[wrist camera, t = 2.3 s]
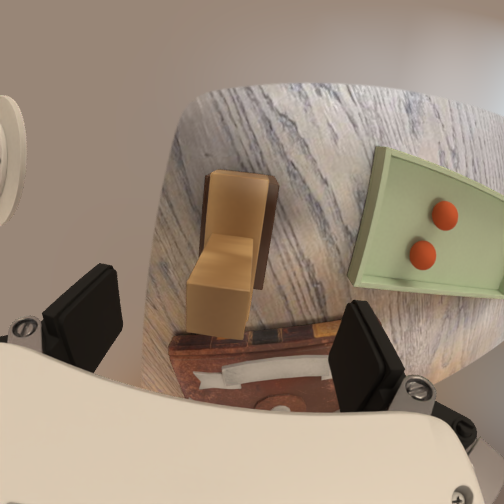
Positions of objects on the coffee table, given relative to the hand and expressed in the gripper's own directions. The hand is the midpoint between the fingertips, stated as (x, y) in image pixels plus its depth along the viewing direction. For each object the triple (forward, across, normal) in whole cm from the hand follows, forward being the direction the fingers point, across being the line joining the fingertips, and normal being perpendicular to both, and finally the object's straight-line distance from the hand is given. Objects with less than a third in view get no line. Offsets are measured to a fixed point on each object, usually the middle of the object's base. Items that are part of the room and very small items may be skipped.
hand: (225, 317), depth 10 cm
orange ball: (+14, -19, -4) cm, 24 cm away
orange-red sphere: (+14, -18, 0) cm, 23 cm away
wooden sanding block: (+10, +1, 0) cm, 10 cm away
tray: (+16, -24, -2) cm, 29 cm away
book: (+16, -6, +19) cm, 25 cm away
